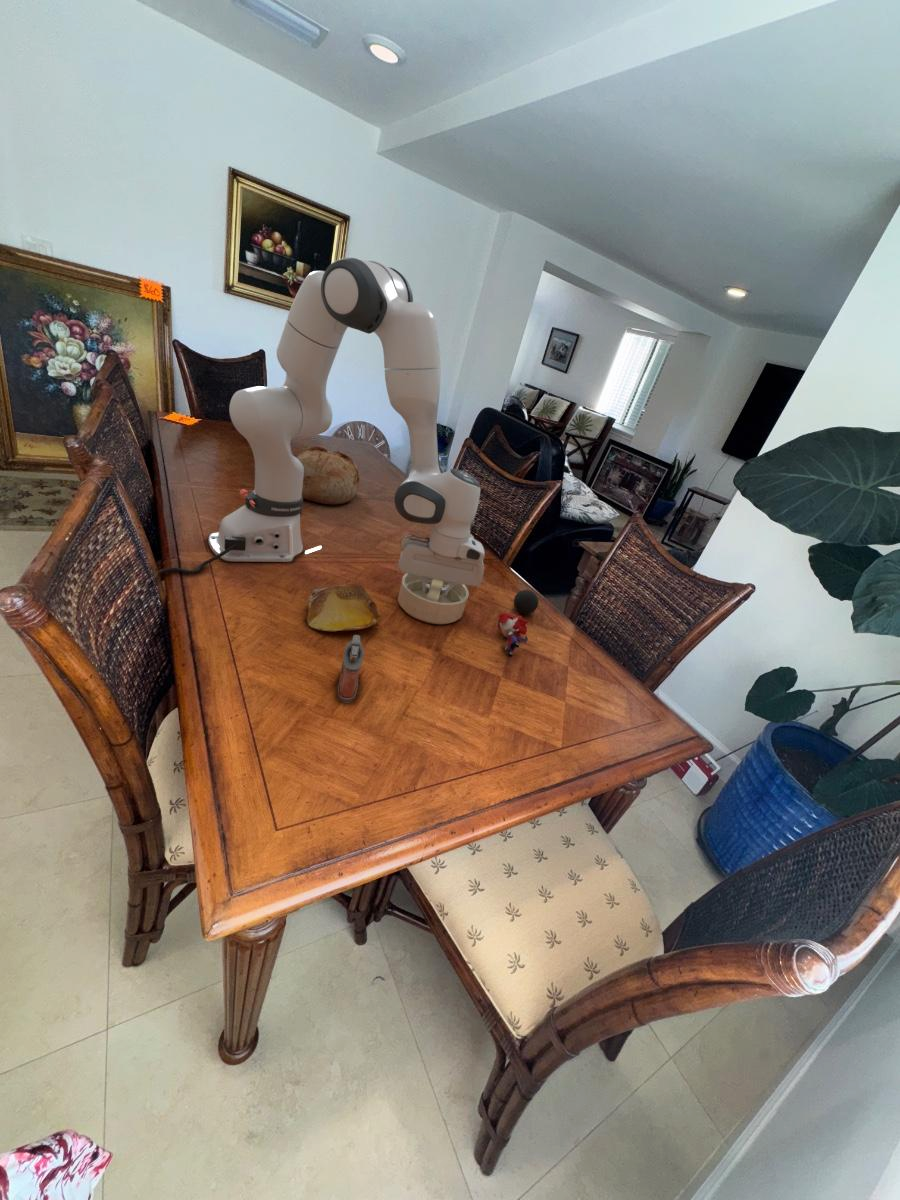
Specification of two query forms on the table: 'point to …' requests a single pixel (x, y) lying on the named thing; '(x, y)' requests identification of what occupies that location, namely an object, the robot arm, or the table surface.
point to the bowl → (428, 610)
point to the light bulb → (526, 601)
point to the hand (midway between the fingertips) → (434, 593)
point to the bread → (328, 476)
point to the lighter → (350, 670)
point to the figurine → (512, 630)
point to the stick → (435, 590)
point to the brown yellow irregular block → (341, 608)
